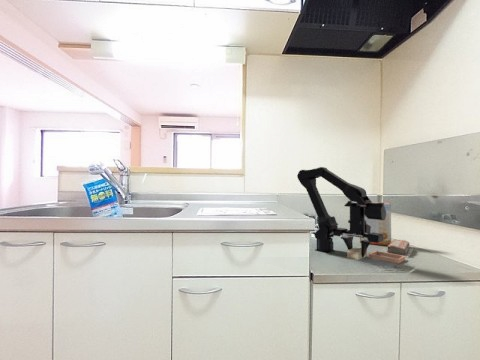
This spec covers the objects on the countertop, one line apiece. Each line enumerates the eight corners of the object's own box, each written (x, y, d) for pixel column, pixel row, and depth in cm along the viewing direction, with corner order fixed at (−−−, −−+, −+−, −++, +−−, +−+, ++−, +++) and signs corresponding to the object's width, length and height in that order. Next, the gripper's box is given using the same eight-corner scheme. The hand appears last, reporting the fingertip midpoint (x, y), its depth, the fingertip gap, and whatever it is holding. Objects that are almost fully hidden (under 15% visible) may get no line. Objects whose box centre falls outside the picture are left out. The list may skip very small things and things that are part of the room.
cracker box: (391, 243, 134) (391, 202, 134) (390, 246, 129) (390, 203, 129) (361, 240, 141) (361, 201, 141) (359, 242, 136) (359, 202, 136)
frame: (368, 257, 109) (368, 253, 109) (376, 254, 114) (376, 250, 114) (398, 263, 101) (398, 259, 101) (405, 259, 106) (405, 256, 106)
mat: (343, 258, 109) (343, 257, 109) (360, 251, 119) (360, 250, 119) (391, 269, 96) (391, 267, 96) (405, 260, 106) (405, 259, 106)
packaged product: (389, 237, 128) (413, 240, 122) (389, 247, 128) (413, 251, 122) (381, 244, 114) (408, 248, 108) (381, 256, 114) (408, 260, 108)
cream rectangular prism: (347, 257, 109) (347, 250, 109) (356, 254, 114) (356, 247, 114) (358, 260, 105) (358, 252, 105) (366, 256, 111) (366, 249, 111)
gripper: (388, 218, 108) (388, 256, 108) (345, 214, 122) (345, 247, 122) (377, 221, 101) (377, 262, 101) (332, 216, 115) (332, 252, 115)
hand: (357, 255), depth 110 cm, fingers closed on cream rectangular prism, 4 cm apart
